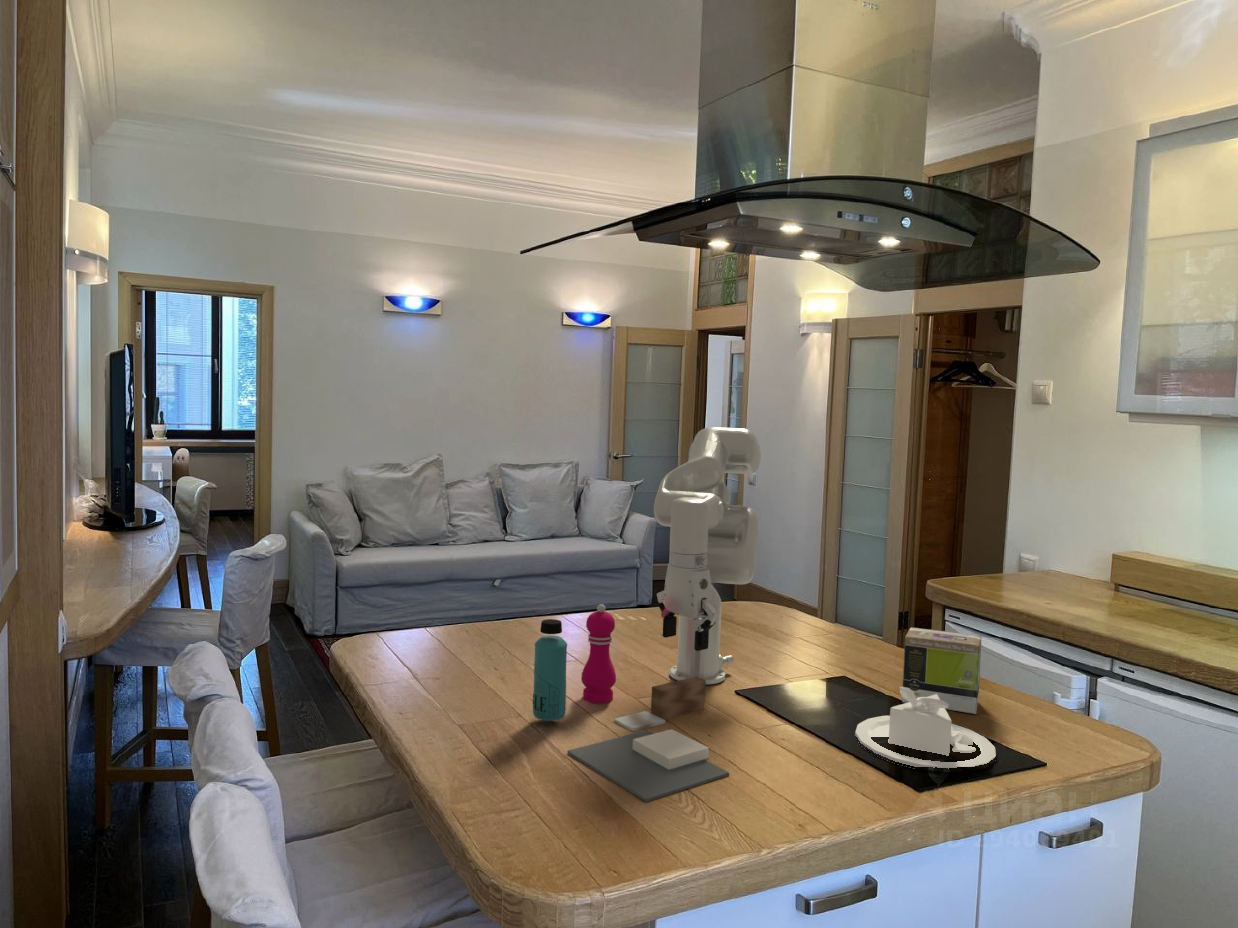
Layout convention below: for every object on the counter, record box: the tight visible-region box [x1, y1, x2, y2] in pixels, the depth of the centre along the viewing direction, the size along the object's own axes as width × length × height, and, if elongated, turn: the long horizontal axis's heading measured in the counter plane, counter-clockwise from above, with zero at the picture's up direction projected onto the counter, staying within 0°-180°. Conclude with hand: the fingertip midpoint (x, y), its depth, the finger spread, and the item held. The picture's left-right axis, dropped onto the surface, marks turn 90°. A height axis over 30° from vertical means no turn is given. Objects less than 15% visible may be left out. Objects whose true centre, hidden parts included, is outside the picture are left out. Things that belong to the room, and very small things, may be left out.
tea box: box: [901, 626, 982, 715], centre depth 186 cm, size 15×10×15 cm, turn 65°
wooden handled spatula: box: [613, 677, 706, 732], centre depth 172 cm, size 20×6×6 cm, turn 128°
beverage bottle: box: [532, 618, 568, 722], centre depth 166 cm, size 6×7×20 cm
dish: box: [854, 686, 997, 769], centre depth 162 cm, size 25×25×11 cm
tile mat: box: [567, 729, 730, 803], centre depth 149 cm, size 18×22×1 cm
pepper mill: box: [581, 603, 617, 704], centre depth 180 cm, size 7×7×20 cm
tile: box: [633, 728, 710, 770], centre depth 152 cm, size 2×10×9 cm
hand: (685, 642), depth 175 cm, fingers open, 9 cm apart
